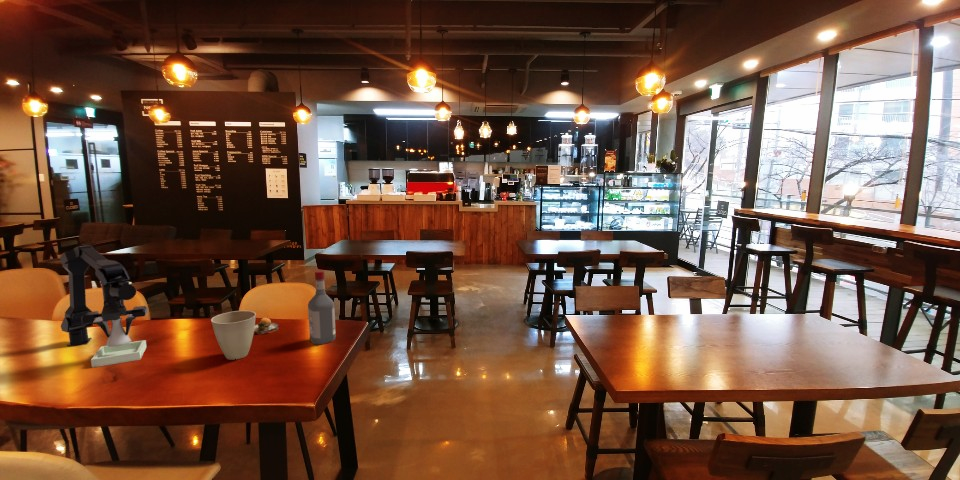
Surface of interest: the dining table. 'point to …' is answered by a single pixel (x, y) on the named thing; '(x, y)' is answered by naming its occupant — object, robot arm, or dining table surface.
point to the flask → (117, 334)
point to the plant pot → (234, 332)
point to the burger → (265, 326)
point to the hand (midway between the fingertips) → (118, 335)
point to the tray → (119, 353)
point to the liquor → (321, 314)
